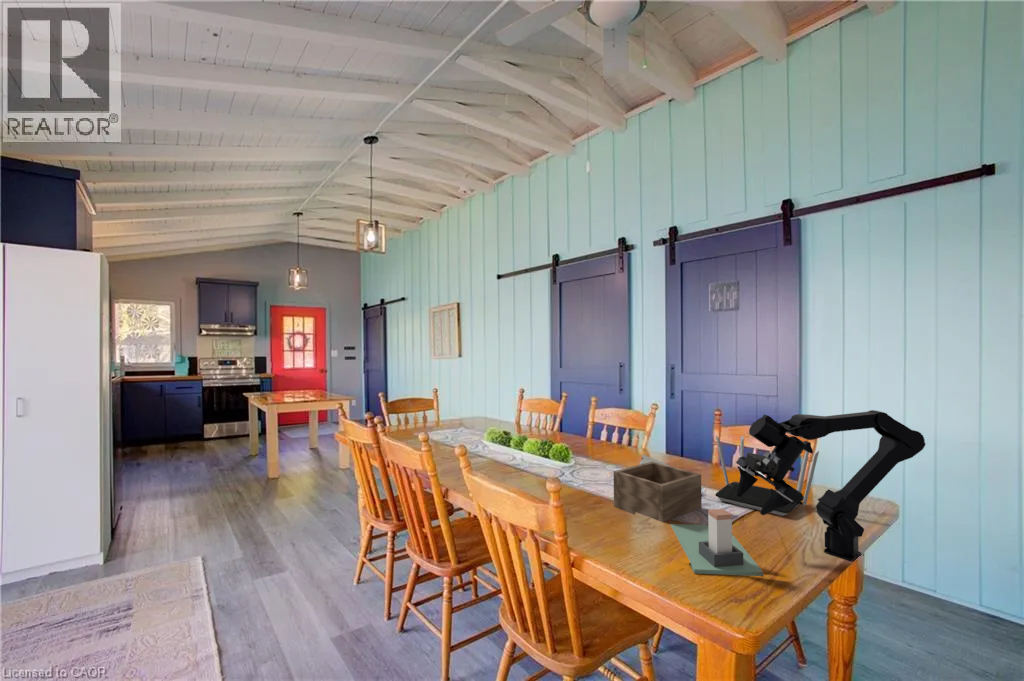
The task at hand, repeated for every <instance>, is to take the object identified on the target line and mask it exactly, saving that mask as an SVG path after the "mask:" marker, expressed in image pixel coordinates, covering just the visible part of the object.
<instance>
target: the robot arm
mask: <svg viewBox="0 0 1024 681" xmlns="http://www.w3.org/2000/svg"><path fill="white" fill-rule="evenodd" d="M865 429H873V430H874V431H875V432H876V433H878V434H879V435H880V436H881V437H880V439H879V440H878V441H879V442H878V448H877V450H876V452H875V453H874V454H873V455H872V456H871V457H870V459H868V460H867V461H866V463H865V464H864V465H863V466H862V467H860V468H859V470H858V471H857V472H856V473H855V474H854V475H853V476H852V477H851V478H850V479H849V481H847V483H845V485H844V486H843V487H841V489H839V490H836V491H833V490H831V489H827V490H826V491H825V492H824V493H823V495H822V496H821V497H819V498H817V501H818V502H817V504H816V506H815V508H816V513H817V515H818V516H819V518H820V519H822V522H823V524H824V525H826V531H825V532H824V549H823V553H826V554H828V555H829V554H830V555H832V556H835V557H838V558H841V559H844V560H847V561H853V560H855V559H856V558H858V557H859V556H861V555H862V552H861V551H859V537H860V538H861V537H863V534H864V531H865V528H864V527H863V526H861V524H859V523H858V521H856V518H857V517H858V515H859V509H860V504H861V503H862V502H863V501H864V499H866V498H867V497H868V495H869V494H870V493H871V492H872V491H873V490H874V489H875V488H876V487H877V486H878V485H879V484H880V482H882V480H883V479H884V478H885V477H886V476H887V475H888V474H889V473H890V472H891V471H892V470H893V469H894V468H895V466H896V465H898V464H899V463H901V462H903V461H906V460H910V459H912V458H914V457H915V456H916V455H917V454H919V453H921V451H923V450H924V448H925V446H926V441H925V437H924V435H923V434H922V433H921V432H920V431H918V430H914V429H911V427H910V428H909V426H907V425H905V424H903V423H902V422H899V421H898V420H896V419H894V418H893V417H892V416H890V415H889V414H888V413H886V412H884V411H880V410H874V409H872V410H871V409H870V410H868V411H862V412H851V413H844V414H833V415H827V416H825V415H814V414H804V413H803V414H801V413H797V414H793V415H792V416H791V417H790V419H788V420H785V421H782V422H778V421H776V420H774V418H773V417H771V416H770V415H767V414H763V415H762V417H759V418H758V419H756V420H755V421H754V422H752V424H751V425H750V427H749V430H748V433H749V435H750V436H751V437H752V438H754V439H756V440H757V441H759V442H761V443H762V444H763V445H765V446H766V447H768V448H772V447H773V449H772V450H771V452H769V451H765V453H764V454H763V455H762V454H757V453H753V452H747V453H746V456H743V457H740V456H739V457H738V459H737V460H736V462H735V464H737V465H738V466H737V469H738V470H739V481H738V482H739V486H738V490H737V494H736V495H737V496H738V497H741V496H742V495H743V494H744V493H745V492H746V491H747V490H748V489H749V488H750V487H751V486H752V485H755V483H756V482H757V481H758V480H759V479H758V478H757V477H759V478H761V479H763V481H765V482H767V483H768V484H770V485H771V486H773V487H774V489H773V488H770V489H771V496H770V497H769V499H768V500H767V502H766V503H765V505H764V506H763V508H762V510H760V512H759V514H760V515H762V516H765V515H767V514H770V513H769V512H771V511H774V510H776V509H778V508H780V507H783V506H785V505H788V504H792V505H793V504H794V503H793V501H794V502H795V503H797V504H798V505H801V504H800V503H801V502H803V496H804V494H803V493H802V492H801V493H800V492H799V491H797V490H796V489H797V488H794V487H793V486H792V485H790V484H789V483H786V480H784V478H786V476H787V475H788V474H789V472H792V473H793V472H794V471H795V470H796V468H794V467H793V466H794V464H795V463H796V461H798V459H799V458H800V456H801V455H802V453H803V451H807V452H809V454H813V453H814V451H813V448H812V443H811V442H810V441H812V440H817V439H821V438H824V437H826V436H828V435H829V434H833V433H837V432H838V433H839V432H846V431H857V430H865ZM786 433H787V434H790V435H791V436H788V435H787V434H786ZM798 437H800V438H803V439H805V440H801V439H800V438H798ZM807 440H808V441H807ZM775 490H777V491H775Z"/></svg>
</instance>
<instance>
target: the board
mask: <svg viewBox="0 0 1024 681" xmlns="http://www.w3.org/2000/svg"><path fill="white" fill-rule="evenodd" d="M669 525H670V527H671V529H672V531H673V532H674V534H675V537H676V538H677V540H678V542H679V544H680V546H681V548H682V549H683V551H684V553H685V555H686V557H687V558H688V560H689V562H688V564H689V566H690V568H691V570H692V572H693V573H694V574H697V575H698V574H700V575H727V576H730V575H731V576H750V577H764V571H763V569H762V568H761V567H760V566H759V565H758V564H757V562H756V561H755V560H754V559H753V557H752V556H751V555H750V554H749V552H748V551H747V550H746V549H745V548H744V547H743V545H742V544H741V543H740V542H739V541H738V540H737V537H736V536H734V534H733V533H732V545H733V546H735V547H736V548H737V549H739V550H740V551H741V552H743V565H736V566H724V567H714V566H713V565H711V564H710V563H709V562H708V561H707V560H706V559H705V558H704V557H703V556H701V555H700V554H699V542H703V541H709V528H708V524H689V523H688V524H687V523H686V524H679V523H678V524H677V523H670V524H669Z"/></svg>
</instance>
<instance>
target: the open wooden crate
mask: <svg viewBox="0 0 1024 681" xmlns="http://www.w3.org/2000/svg"><path fill="white" fill-rule="evenodd" d="M667 465H668V464H667ZM667 465H663V464H659V463H655V462H649V463H645V464H641V465H639V464H638V465H634V466H630V467H626V468H622V469H621V468H620V469H617V470H614V471H613V473H612V474H613V507H614V508H617V509H619V510H622V511H624V512H627V513H630V514H632V515H636V513H637V514H640V515H643V516H645V517H648V518H649V519H654V520H655V521H656V520H657V521H658V522H661V523H664V522H668V521H669V520H673V519H675V518H678V517H680V516H683V515H686V514H688V513H691V512H694V511H697V510H703V506H702V505H703V504H702V502H703V501H702V500H703V499H702V498H703V496H702V474H701V473H697V472H693V471H689V470H686V469H682V468H677V467H674V466H672V467H671V465H670V466H667Z"/></svg>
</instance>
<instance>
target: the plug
mask: <svg viewBox="0 0 1024 681" xmlns="http://www.w3.org/2000/svg"><path fill="white" fill-rule="evenodd" d="M707 511H708V512H707V513H708V514H707V516H708V523H707V525H708V528H709V548H710V549H711V550H712V551H713V552H715V553H727V552H732V534H733V523H732V522H733V516H732V513H730V512H729V511H727V510H725V509H724V508H715V509H711V508H710V509H707Z"/></svg>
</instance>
